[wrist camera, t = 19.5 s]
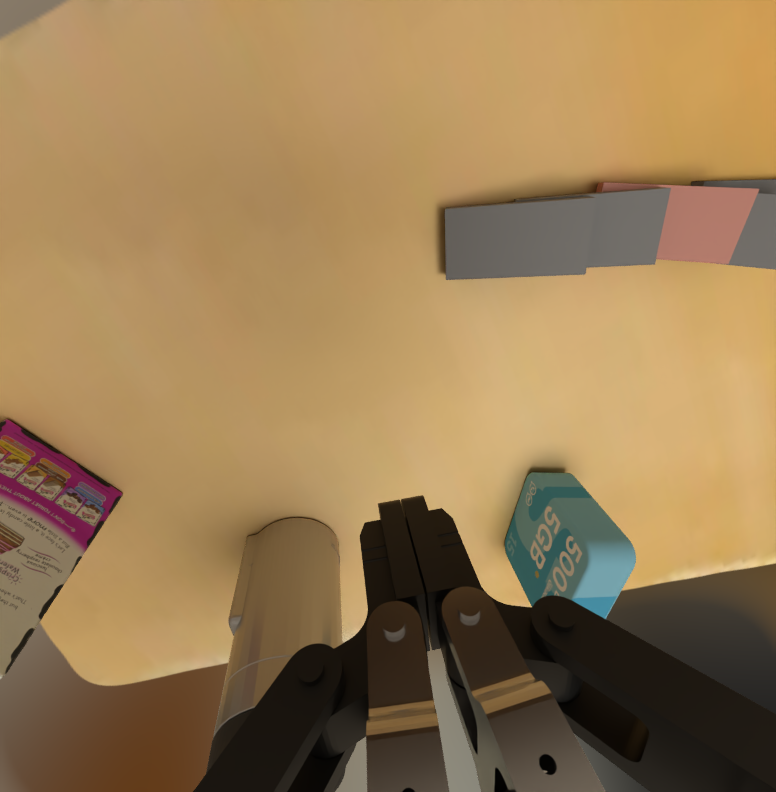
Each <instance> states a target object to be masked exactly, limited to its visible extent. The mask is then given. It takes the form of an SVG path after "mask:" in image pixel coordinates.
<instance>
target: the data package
mask: <svg viewBox="0 0 776 792" xmlns="http://www.w3.org/2000/svg"><path fill="white" fill-rule="evenodd" d="M505 550H506V554H507V557H508V559H509V561H510V563H511V565H512V567H513V569H514V571H515V573H516V575H517V577H518V579H519V581H520V583H521V585H522V587H523V589H524V591H525V593H526V595H527V598H528V600H529V602H530V604H531V606H532V607H533V605H534V604H535V602H536V601H537V600H539V599H540V598H542V597H545V596H551V595H555V596H562V597H565V598H568V599H570V600H572V601H574V602H576V603H577V604H579V605H581V606H583V607H585V608H586V609H588V610H590V611H592V612H594V613H595V614H597V615H599V616H601V617H603V618H604V619H606V617H607V615H608V613H609V612H610V610H611V608H612V606H613V604H614V603H615V601H616V599H617V597H618V595H619V594H620V592H621V590H622V588H623V586H624V585H625V583H626V581H627V579H628V577H629V576H630V574H631V572H632V570H633V568H634V566H635V563H636V555H635V550H634V547H633V545H632V543H631V542H630V540H629V539H628V538H627V537H626V536H625V535H624V533H623V532H622V531H621V530H620V529H619V528H618V526H617V525H616V524H615V523H614V522H613V521H612V520H611V518H610V517H609V516H608V515H607V514H606V513H605V511H604V510H603V509H602V508H601V507H600V506H599V504H598V503H597V502H596V501H595V500H594V499H593V498H592V496H591V495H590V494H589V493H588V492H587V491H586V489H585V488H584V487H583V486H582V485H581V484H580V483H579V481H578V480H577V479H576V478H575V477H574V476H573V475H572V474H570V473H537V472H533V473H530V474H529V475H528V476H527V478H526V481H525V483H524V486H523V489H522V492H521V495H520V498H519V501H518V504H517V507H516V510H515V513H514V516H513V519H512V521H511V524H510V527H509V530H508V533H507V536H506V539H505Z"/></svg>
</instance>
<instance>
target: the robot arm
mask: <svg viewBox="0 0 776 792" xmlns="http://www.w3.org/2000/svg"><path fill="white" fill-rule="evenodd" d="M401 505H402V506H401ZM378 507H379V514H380V520H377V521H372V522H366V523H365V524H364V526H363V529H362V531H361V534H360V542H361V551H362V560H363V569H364V577H365V586H366V595H367V603H368V614H367V618H366V621H365V623H364V625H363V627H362V628H361V630H360V631H359V632H358V633H357V634H356V635H355V636H354V637H352V638H351V639H350V640H348V641H346V642H345V643H343V644H342V618H341V591H340V556H339V544H338V540H337V537H336V536H335V534H334V533H333V531H332V530H330V529H329V528H328V527H327V526H325V525H324V524H322V523H320V522H317V521H314V520H311V519H305V518H289V519H284V520H280V521H277V522H274V523H272V524H271V525H269V526H267V527H265V528H264V529H263V530H262V531H261V532H259V533H258V534H256V535H251V536H248V537H247V540H246V544H245V548H244V553H243V557H242V562H241V566H240V571H239V575H238V579H237V584H236V588H235V593H234V597H233V601H232V606H231V610H230V615H229V626H230V628H231V631H232V633H233V635H234V639H233V643H232V648H231V653H230V658H229V663H228V668H227V673H226V678H225V683H224V688H223V693H222V698H221V703H220V708H219V712H218V718H217V722H216V727H215V732H214V737H213V741H212V746H211V751H210V756H209V762H208V767H207V772H206V775H205V776H204V778H203V779H202V781H201V782H200V783H199V785H198V786H197V787H196V789H195V790H194V791H193V792H335V791H336V789H337V788H338V787H339V785H340V783H341V782H342V779H343V777H344V773H345V768H346V764H347V763H348V761H349V759H350V757H351V755H352V752H353V751H354V748H355V746H356V743H357V742H358V741H360V740H361V739H363V738H364V737H366V749H367V792H449V788H448V781H447V775H446V769H445V762H444V756H443V750H442V743H441V738H440V731H439V724H438V719H437V713H436V709H435V705H434V699H433V693H432V686H431V680H430V674H429V666H428V656H427V651H430V645H429V639H430V642H431V647H432V650H435V649H440V648H441V651H442V654H443V658H444V662H445V667H446V678H447V682H448V685H449V687H450V691H451V694H452V696H453V699H454V703H455V705H456V709H457V711H458V714H459V717H460V720H461V723H462V726H463V729H464V732H465V735H466V738H467V741H468V744H469V747H470V750H471V752H472V756H473V759H474V762H475V766H476V770H477V775H478V780H479V785H480V789H481V792H606V791H605V790H604V788H603V786H602V784H601V782H600V781H599V779H598V777H597V775H596V773H595V772H594V770H593V768H592V766H591V764H590V762H589V760H588V759H587V757H586V755H585V753H584V751H583V749H582V748H581V746H580V744H579V742H578V740H577V739H576V737H575V735H574V734H576V735H577V736H578V737H580V738H581V739H582V740H583V741H585V742H586V743H587V744H589V745H590V746H591V747H593V748H594V749H595V750H596V751H598V752H599V753H600V754H602V755H603V756H604V757H606V758H607V759H608V760H610V761H611V762H612V763H613V764H615V765H616V766H617V767H619V768H620V769H621V770H623V771H624V772H625V773H627V774H628V775H629V776H631V777H632V778H633V779H635V780H636V781H637V782H638V783H640V784H641V785H642V786H644V787H645V788H646V789H648V790H649V791H650V792H776V714H775V713H773V712H771V711H769V710H767V709H766V708H764V707H762V706H760V705H758V704H756V703H755V702H753V701H751V700H750V699H748V698H746V697H744V696H742V695H741V694H739V693H737V692H735V691H733V690H731V689H730V688H728V687H726V686H724V685H723V684H721V683H719V682H717V681H715V680H714V679H712V678H710V677H708V676H707V675H705V674H703V673H701V672H699V671H698V670H696V669H694V668H692V667H690V666H689V665H687V664H685V663H683V662H681V661H680V660H678V659H676V658H674V657H672V656H671V655H669V654H667V653H665V652H663V651H662V650H660V649H658V648H656V647H654V646H653V645H651V644H649V643H647V642H646V641H644V640H642V639H640V638H638V637H636V636H635V635H633V634H631V633H629V632H628V631H626V630H624V629H622V628H620V627H619V626H617V625H615V624H613V623H611V622H610V621H608V620H606V619H604V618H603V617H601V616H599V615H597V614H595V613H594V612H592V611H590V610H588V609H586V608H585V607H583V606H581V605H579V604H577V603H576V602H574V601H572V600H570V599H568V598H565V597H562V596H555V595H551V596H545V597H542V598H540V599H539V600H537V601H536V602H535V604H534V605H533V607H532V608H530V607H521V606H512V605H507V604H503V603H501V602H498V601H496V600H495V599H493V598H492V597H490V596H489V595H488V594H487V593H486V592H485V591H484V590H483V588H482V587H481V585H480V583H479V580H478V578H477V576H476V573H475V571H474V568H473V566H472V564H471V561H470V559H469V556H468V554H467V552H466V549H465V547H464V544H463V543H462V540H461V537H460V535H459V534H458V530H457V528H456V525H455V523H454V520H453V518H452V517H451V516H450V515H448V514H447V513H446V512H445V511H444V510H443V509H442V508H441V509H436V510H430V511H429V510H428V508H427V505H426V502H425V499H424V497H423V495H422V496H416V497H411V498H405V499H401V502H400V500H395V501H389V502H384V503H378Z"/></svg>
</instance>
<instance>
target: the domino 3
mask: <svg viewBox="0 0 776 792" xmlns="http://www.w3.org/2000/svg"><path fill="white" fill-rule="evenodd" d="M657 187H666V188H671V191H670V195H669V200H668V205H667V209H666V214H665V219H664V223H663V228H662V233H661V238H660V242H659V247H658V252H657V256H656V259H663V260H676V261H690V262H704V263H718V264H729V261H730V259H731V257H732V254H733V252H734V249H735V247H736V244H737V242H738V240H739V237H740V235H741V232H742V230H743V228H744V225H745V223H746V220H747V218H748V216H749V213H750V211H751V208H752V206H753V204H754V201H755V199H756V196H757V194H758V191H759V189H752V188H728V187H703V186H679V185H655V184H630V183H606V182H603V183H598V186H597V190H596V192H609V191H621V190H633V189H645V188H657Z"/></svg>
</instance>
